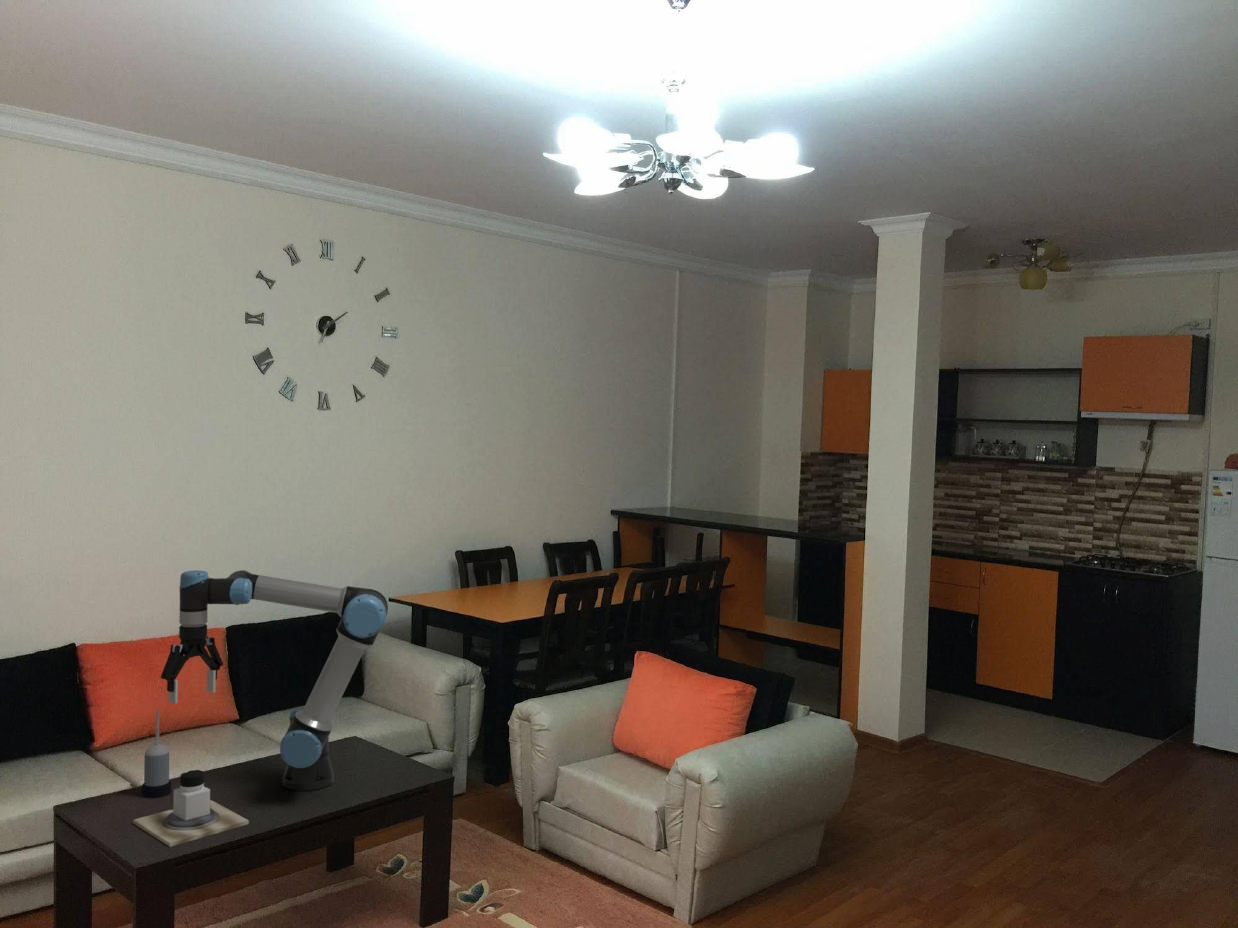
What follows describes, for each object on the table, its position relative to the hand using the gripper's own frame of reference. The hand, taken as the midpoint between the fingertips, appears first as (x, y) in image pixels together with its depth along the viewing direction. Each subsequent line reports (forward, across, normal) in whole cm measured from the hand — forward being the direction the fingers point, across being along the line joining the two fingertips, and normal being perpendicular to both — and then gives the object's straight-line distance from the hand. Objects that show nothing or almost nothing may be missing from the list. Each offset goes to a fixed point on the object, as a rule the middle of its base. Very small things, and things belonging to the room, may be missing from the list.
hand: (192, 697), depth 298 cm
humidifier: (+31, 0, -14) cm, 34 cm away
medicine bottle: (+28, +12, +13) cm, 33 cm away
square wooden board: (+31, +12, +13) cm, 35 cm away
